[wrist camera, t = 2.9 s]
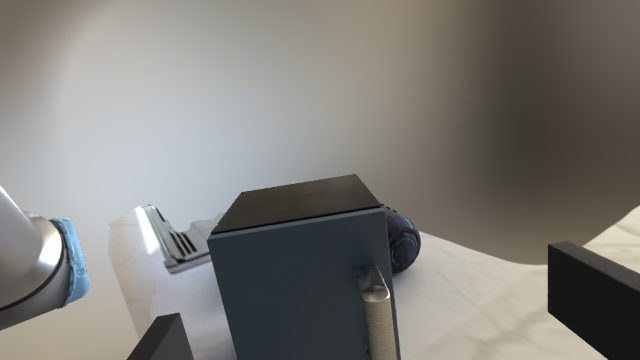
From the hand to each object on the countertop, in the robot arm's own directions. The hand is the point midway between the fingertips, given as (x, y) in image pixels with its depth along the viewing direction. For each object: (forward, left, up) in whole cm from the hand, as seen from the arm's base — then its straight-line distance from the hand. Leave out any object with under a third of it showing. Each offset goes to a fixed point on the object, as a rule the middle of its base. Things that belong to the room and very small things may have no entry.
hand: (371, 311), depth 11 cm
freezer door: (-4, +14, -22) cm, 26 cm away
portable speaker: (+8, +47, -22) cm, 53 cm away
